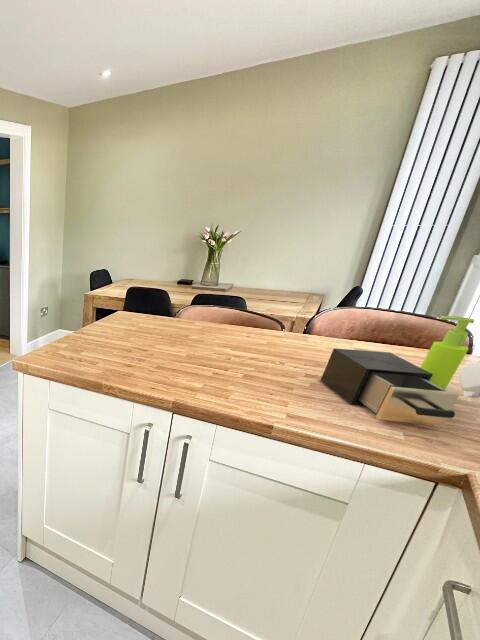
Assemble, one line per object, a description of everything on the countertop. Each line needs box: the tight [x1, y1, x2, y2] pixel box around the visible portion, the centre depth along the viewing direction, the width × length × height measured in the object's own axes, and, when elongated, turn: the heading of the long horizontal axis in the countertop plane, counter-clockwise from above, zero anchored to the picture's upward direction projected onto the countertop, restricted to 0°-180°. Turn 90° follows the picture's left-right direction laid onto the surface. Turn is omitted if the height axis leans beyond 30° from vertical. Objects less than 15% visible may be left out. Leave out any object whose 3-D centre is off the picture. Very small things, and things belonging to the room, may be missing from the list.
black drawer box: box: [320, 347, 433, 407], centre depth 101 cm, size 15×13×10 cm
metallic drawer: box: [357, 372, 460, 427], centre depth 90 cm, size 18×11×8 cm, turn 165°
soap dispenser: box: [419, 315, 475, 390], centre depth 100 cm, size 6×7×20 cm
